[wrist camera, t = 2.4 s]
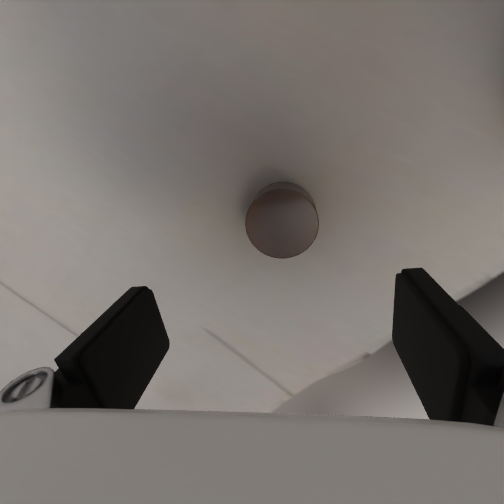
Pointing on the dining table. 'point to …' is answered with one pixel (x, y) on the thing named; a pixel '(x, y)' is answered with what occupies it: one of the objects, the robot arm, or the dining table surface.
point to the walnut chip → (282, 220)
